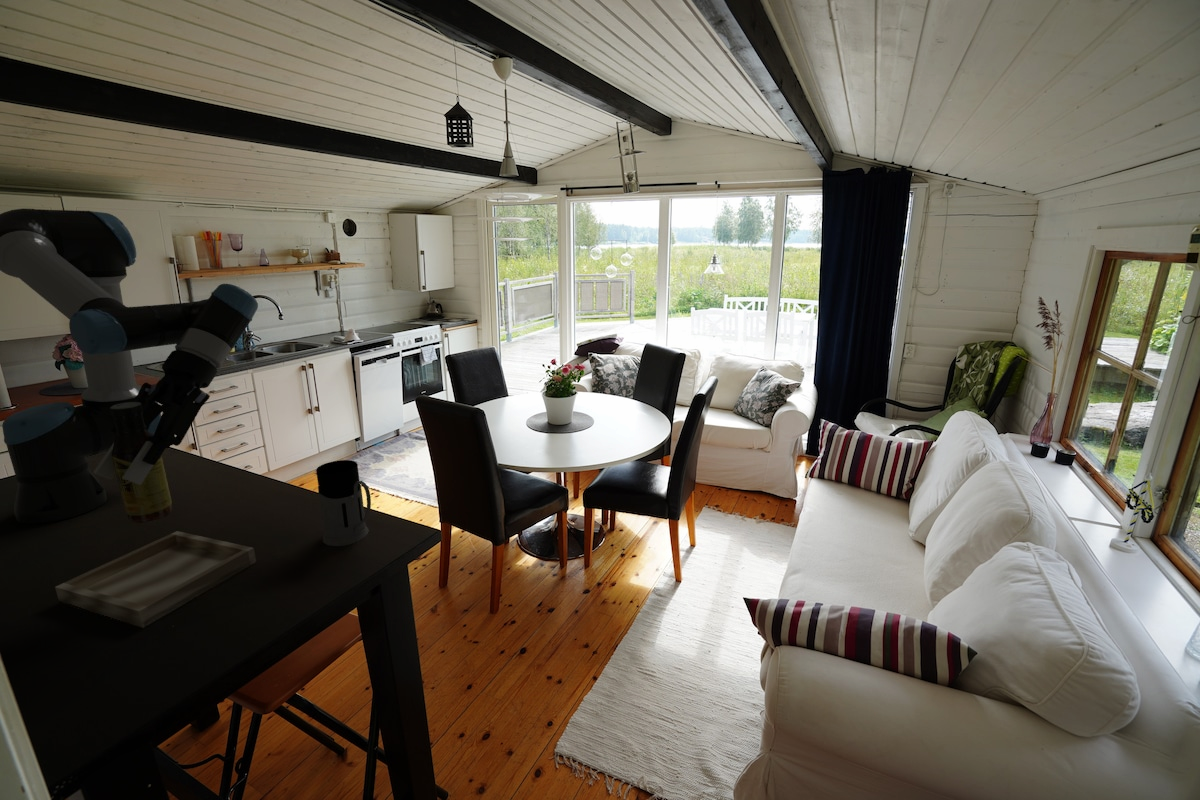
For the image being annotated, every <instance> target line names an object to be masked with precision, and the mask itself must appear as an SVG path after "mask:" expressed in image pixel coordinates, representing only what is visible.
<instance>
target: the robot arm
mask: <svg viewBox="0 0 1200 800" xmlns="http://www.w3.org/2000/svg"><path fill="white" fill-rule="evenodd" d="M136 258H137V249H136V244H135V241H134V239H133V236H132V235H131V233H130V231H129V229H128V228H127V226H126V225H125V224H124V222H122V220H120V219H119V218H118V217H117V216H115V215H113V214H112V213H108V212H101V211H100V212H99V211H92V210H76V209H75V210H71V209H67V210H66V209H64V210H63V209H42V208H41V209H38V208H16V209H11V210H7V211H5V212H2V213H0V272H2V273H3V274H6V275H7V276H10V277H13V278H16V279H17V278H18V279H20V280H21V281H22V282H23V283H24V284H25V285H27V286H28V287H29V288H30V289H31V290H33V291H34V292H35V293H36V294H38V295H39V296H40V297H41V298H42V299H44V300H45V301H46V302H47V303H49V304H50V305H51V306H52V307H54V308H55V309H56V310H57V311H58V312H60V313H61V314H62V315H63V316H65V318H67V319H68V320H69V321H68V322H69V323H68V325H69V333H70V335H71V338H72V340H73V341H74V343H75V345H76V347H77V348H78V349H79V350H80V351H81V357H82V363H83V365H84V366H83V368H84V372H85V373H84V374H85V379H86V383H87V388H86V389H85V390H84V391H83V392H82V393H81V395H80V399H81V403H82V404H80V405H77V406H75V405H73V403H71V402H68V401H56V402H51V403H44V404H39V405H36V406H32V407H28V408H25V409H23V410H19V411H17V412H15V413H12V414H11V415H9V416H7V417H6V418H5V419H4V420H3V422H2V426H1V427H2V432H3V442H4V444H5V445H6V449H7V451H8V455H9V458H10V461H11V465H12V468H13V472H14V476H15V478H16V482H17V490H16V494H15V500H14V506H13V513H14V516H15V520H16V521H17V522H18V523H21V524H27V525H28V524H29V525H30V524H32V525H33V524H34V525H35V524H44V523H51V522H58V521H61V520H66V519H70V518H74V517H77V516H79V515H82V514H83V515H84V514H86V513H89V512H91V511H93V510H95V509H97V508H99V507H101V506H103V504H105V503H106V502H107V500H108V496H107V492H106V490H105V488H104V487H103V485H102V484H101V483H100V482H99V480H98V478H97V477H96V476H95V475H98V476H100V477H102V478H105V479H108V480H113V478H114V477H115V476H116V471H115V467H114V463H113V459H112V451H113V445H114V440H115V435H116V427H115V423H114V419H113V417H112V416H111V413H110V407H112V406H113V405H116V404H120V403H126V402H140V403H141V404H142V408H143V413H142V415H143V419H144V423H145V425H146V428H145V429H146V430H147V431H148V432H149V433H150V434H153V436H151V437H148V439H149V440H151V441H153V442H154V443H152V442H150V441H146V442H145V444H144V445H143V447H142V448H141V450H140V451H139V453H138V454H137V456H136V457H135V459H134V460H133V462H132V463H131V465H130V466H129V468H128V469H127V471H126V472H125V474H124V476H123V477H122V478H123V479H126V480H128V481H131V482H133V483H135V484H138V485H141V484H142V482H143V481H144V479H145V478H146V476H147V475H148V473H149V472H150V470H151V468H152V467H153V465H154V464H155V463H156V462H157V461H158V459H159V458H160V456H161V455H162V454H163V453H164V451H165V450H166V449H169V448H170V447H172V446H175V447H177V446H179V445H181V444H182V441H183V440H184V438H185V436H187V435H186V434H187V433H188V432H189V429H190V428H191V426H192V424H193V423H194V421H195V419H196V417H197V416H198V414H199V412H200V410H201V408H202V407H203V406H204V405H205V404H206V403H207V401H208V400H209V399H210V397H211V395H210V394H208V393H207V392H206V391H203V390H202V389H206V388H209V386H210V384H211V383H212V381H213V380H214V379H215V377H216V375H217V373H218V370H217V369H220V368H221V367H222V365H223V363H224V362H225V361H226V359H227V357H228V356H229V354H230V352H231V351H232V350H233V348H234V347H235V345H236V344H237V342H238V341H239V340H240V338H241V337H242V335H243V334H244V332H245V330H246V329H247V327H248V326H249V324H250V323H251V322H252V321H253V318H254V316H255V314H256V312H257V310H258V308H259V303H258V301H257V299H256V298H255V297H254V296H253V295H252V294H251V293H249V292H248V291H246V290H245V289H244V288H241V287H240V286H237V285H235V284H232V283H220V284H218V286H217V287H216V288H215V289H214V290H213V291H211V293H210V294H211V295H210V296H209V298H207V299H206V298H205V299H201V300H197V301H190V302H189V301H187V302H178V303H165V304H152V305H140V306H138V305H137V306H126V305H125V304H124V302H123V297H122V296H123V295H122V290H121V285H120V284H121V281H123V280H124V279H125V278H126V277H127V276H128V274H127V267H131V266H133V265H134V264H135V263H136ZM172 345H175V346H174V349H175V350H172V351H171V352H170V354H169V355H168V356H167V358H166V359H165V360H164V361H163V364H162V365H161V369H162V371H163V373H164V376H162V378H160V379H159V380H158V381H157V383H155V384H150V383H149V382H144V383H143V384H142V385H139V384H137V381H136V375H135V369H134V362H133V357H132V356H133V355H132V351H134V350H141V349H149V348H153V347H155V348H156V347H163V346H172ZM101 453H105V455H104V456H103V457H102V458H101V460H100V462H99V463H98V464H97V466H96V467H95V469H94V470H93V472H92V471H91V470H90V467H89V463H88V458H87V457H91V456H94V455H98V454H101ZM94 474H95V475H94Z"/></svg>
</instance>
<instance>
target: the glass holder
mask: <svg viewBox="0 0 1200 800" xmlns="http://www.w3.org/2000/svg"><path fill="white" fill-rule="evenodd" d="M358 465H359V464H358V462H357V461H354V460H348V459H342V460H334V461H329V462H326V463H323V464H321V465H319V466H318V467H316V469H315V472H316V478H317V479H316V481H317V492H318V501H319V507H320V514H321V521H322V528H323V536H322V539H321V540H322V543H324V544H325V545H327V546H330V545H331V546H332V547H343V546H348V545H352V543H353V544H355V542H356V543H358V542H360V541H362V540H364V539H365V538H366V537H367V536H368V535H369V533H368V532H370V530H369V527H367V524H366V520H367V519H368V518H369V516H370V512H371V509H372V508H371V507H372V502H371V493H370V489H369V487H368V485H367V484H366V483H365V481H363V480H360V475H359V473H360V472H359V467H358ZM362 487H363V489H364V491H365V496H366V511H365V508H364V507H365V506H364V501H363V500H364V499H363V491H362ZM367 534H368V535H367ZM366 535H367V536H366ZM365 536H366V537H365ZM364 537H365V538H364ZM363 538H364V539H363ZM361 539H362V540H361Z"/></svg>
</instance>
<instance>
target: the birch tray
mask: <svg viewBox="0 0 1200 800" xmlns="http://www.w3.org/2000/svg"><path fill="white" fill-rule="evenodd" d="M255 552H256V551H255V548H254V547H251V546H247V545H242V544H237V543H233V542H229V541H225V540H224V541H223V540H221V539H214V538H210V537H206V536H201V535H196V534H193V533H187V532H183V531H178V530H176V531H174V532H172V533H169V534H167V535H166V536H164V537H161V538H159V539H157V540H155V541H152V542H150V543H148V544H145V545H143V546H142V547H139V548H137V549H134V550H132V551H131V552H129V553H126V554H124V555H121V556H119V557H117V558H115V559H113V560H111V561H108V562H106V563H104V564H102V565H100V566H98V567H95V568H93V569H90V570H89V571H87V572H85V573H82V574H80V575H77V576H75V577H74V578H71V579H69V580H67V581H65V582H63V583H60V584H59V585H56V586H54V588H55V592H56V595H57V596H56V597H57V599H58V602H59V601H61V602H65V603H68V604H72V605H75V606H78V607H81V608H83V609H86V610H89V611H91V612H90V613H92V612H94V613H93V614H95V613H98V614H101V615H100V616H102V615H104V616H103V617H105V616H108V617H111V618H110V619H112V618H114V619H113V620H115V619H117V620H116V621H118V620H120V621H119V622H122V621H123V622H122V623H125V622H126V624H128V623H129V625H132V626H135V627H139V628H141V629H144V628H146V627H147V626H149V625H151V624H152V623H155V622H156V621H158V620H159V619H161V618H163V617H165V616H166V615H168V614H170V613H172V612H174V611H175V610H177V609H178V608H180V607H182V606H183V605H186V604H187V603H189V602H190V601H192V600H194V599H195V598H198V597H199V596H200V595H201V596H202V594H204V593H206V592H208V591H209V590H211V589H213V588H215V587H216V586H218V585H220V584H221V583H223V582H225V581H227V580H228V579H230V578H231V577H234V576H235V575H237V574H238V573H240V572H242V571H243V570H245V569H247V568H249V567H251V566H253V565H254V564H255V563H257V559H256V553H255ZM98 614H97V615H98ZM108 617H107V618H108Z"/></svg>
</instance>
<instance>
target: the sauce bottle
mask: <svg viewBox="0 0 1200 800" xmlns="http://www.w3.org/2000/svg"><path fill="white" fill-rule="evenodd" d="M110 413H111V416H112V417H113V419H114V423H115V427H116V435H115V440H114V445H113V451H112V459H113V463H114V467H115V471H116V475H115V476H116V478H117V482H118V489H119V491H120V494H121V500H122V503H123V506H124V510H125V514H127V515H126V516H127V518H128V520H129V521H130V522H132V523H133V522H134V523H137V524H143V523H147V522H153V521H156V520H159V519H162V518H164V517H167V516H168V515H170V513H171V512H172V510H173V506H172V503H173V501H172V497H171V492H170V488H169V484H168V479H167V473H166V470H165V469H166V468H165V467H164V461H163V456H162V455H161V456H160V458H159V459H158V461H157V462H156V463H155V464H154V465H153V467H152V468H151V470H150V472H149V473H148V475H147V476H146V478H145V479H144V481H143V482H142V484H141V485H138V484H135V483H133V482H131V481H128V480H126V479H123V478H122V477H123V476H124V474H125V472H126V471H127V469H128V468H129V466H130V465H131V463H132V462H133V460H134V459H135V457H136V456H137V454H138V453H139V451H140V450H141V448H142V447H143V445H144V444H145V442H146V441H150V442H152V443H154V442H153V441H151V440H149V439H148V437H151V436H153V434H150V433H149V432H148V431H147V430H146V429H145V428H146V425H145V423H144V419H143V415H142V413H143V408H142V404H141V403H140V402H126V403H120V404H116V405H113V406H112V407H110Z"/></svg>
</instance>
